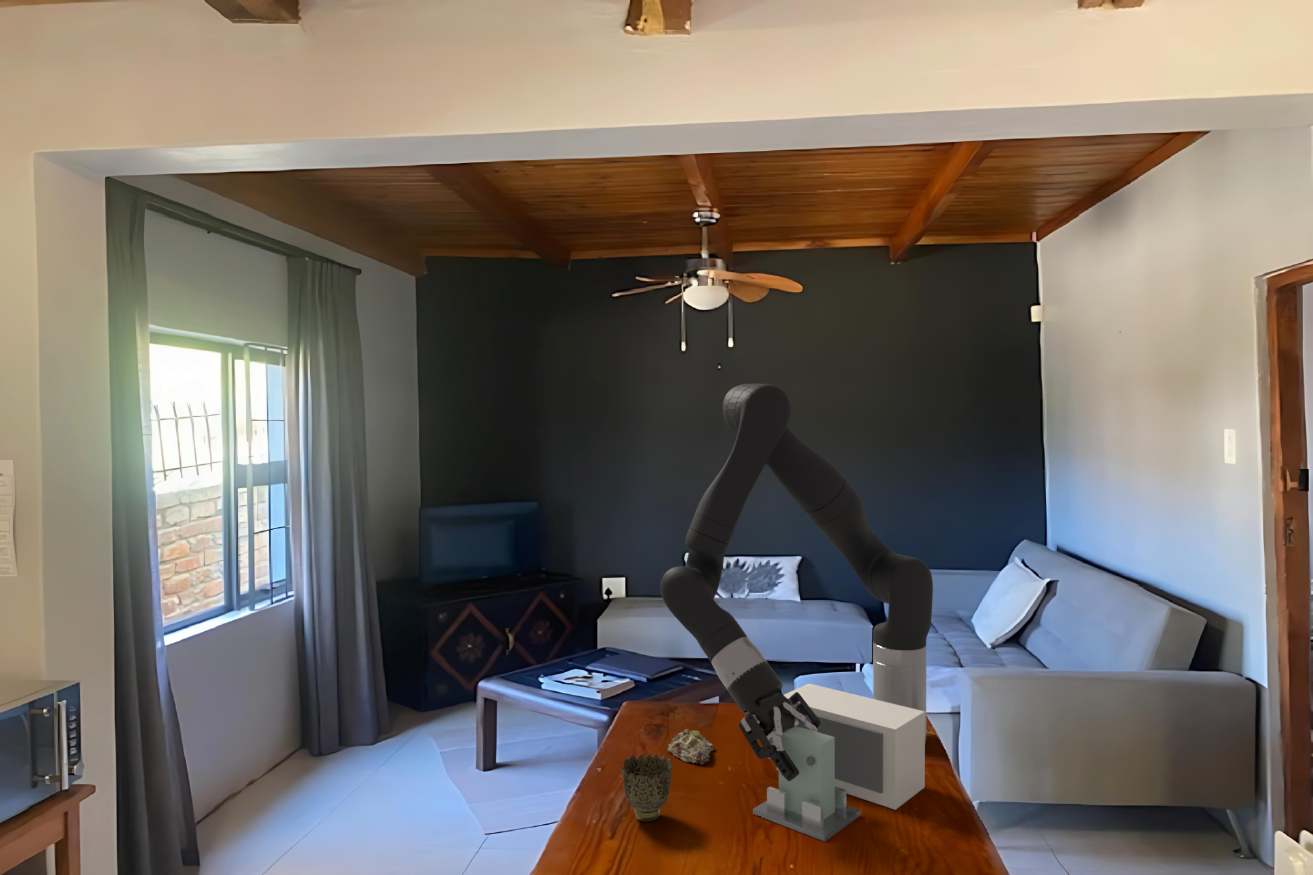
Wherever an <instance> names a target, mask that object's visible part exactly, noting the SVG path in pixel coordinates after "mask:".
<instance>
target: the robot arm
mask: <svg viewBox="0 0 1313 875" xmlns="http://www.w3.org/2000/svg"><path fill="white" fill-rule="evenodd" d="M791 415H792V403H791V401H790V397H789V396H788V395H787V393H786V391H784V390H783V389H782V388H781V387H779V386H776V385H774V384H770V383H742V384H740V385H739V384H738V385H737V386H734V387H733V388H731V389H730V390H729V391H727V393H726V394H725V396H724V399H723V401H722V416H723V418H724V421H725V423H726V425H727V426H728V429H730V431H731V432H732V433H733V434H734V435H736V438H735V442H734V444H733V448H732V449H731V452H730V454H729V456H728V458H727V460H726V462H725V464H724V465H723V467H722V468H721V469H720V471H719V473H717V475H716V477H715V478H714V479H713V481H712V483H711V484H710V485H709V486H708V488H707V489H706V491H705V492H704V494H703V496H702V498H701V499H700V501H699V503H698V505H697V507H696V510H695V513H694V516H693V518H692V520H691V523H690V526H689V528H688V530H687V534H686V536H685V545H686V548H687V550H688V555H687V559H686V563H685V566H683V565H681V566H680V565H678V566H675V567H672V568H669V570H667V571H666V572H665V573H664V574H663V575H662V578H661V580H660V595H661V598H662V601H664V604H665V606H666V607H667V608H668V609H667V610H669V612H670V613H672V615H673V616H674V617H675V618H676V619H677V621H678V622H679V623H680V624H681V625H682V626H683V627H684V628H685V630H687V632H689V633H690V634H691V636H693V637H694V639H695V640H696V642H697V644H698V645H699V647H700V648H701V650H702V651H703V653H704V654H705V655H706V657H707V659H708V660H709V661H710V664H711V665H712V667H713V669H714V671H715V672H716V675H717V677H718V678H719V680H720V681H721V683H722V684H723V686H724V688H725V689H726V690H727V692H728V693H729V695H730V696H731V697H732V700H733V701H734V702H735V704H736V705H737V707H738V708H739V710H740V711H741V713H742V714H745V716H744V717H743V718H742V719H741V720H740V721H738V727H739V729H740V731H741V732H742V734H743V736H744V737H745V739H746V740H747V742H748V744H749V746H750V747H751V749H752V750H753V752H754V754H755V756H756V757H757V759H759V760H762V759H764V758H767V759H768V760H771V761H772V762H773V763H774V764H775V766H776V769H777V768H778V769H779V771H780V772H781V774H782V775H783V776H784V777H785V778H786V780H787V781H791V780H793V779H794V778H795V777H796V776H798V775H799V770H798V769H797V767H796V766H795V764H794V763H793V762H792V760H791V759H790V757H789V756H788V754H787V753H786V751H785V750H784V751H782V750H783V748H782V741H781V737H782V734H783V733H782V732H784V731H785V730H787V729H789V728H792V727H794V726H797V727H801V728H802V727H804V729H808V730H811V731H815V732H817V729H818V727H819V726H820V725H821V722H820V720H819V719H818V717H817V716H816V715H815V713H814V712H813V711H812V710H811V708H810V707H809V706H808V704H807V703H806V702H805V700H804V699H803V698H802V696H801V695H800V694H799V693H798V692H795V693H794V694H793V695H792V696H791V697H790V698H788V699H787V698H786V697H785V696H784V694H783V692H782V689H783V683H782V681H781V679H780V678H779V677H778V675H777V674H776V672H775V671H774V670H773V668H772V667H771V665H770V664H769V662H768V661H767V660H766V658H765V657H764V656H763V654H762V653H761V651H760V649H759V648H758V647H757V646H756V645H755V643H753V641H751V639H750V638H749V637H748V635H747V634H746V633H745V631H744V630H743V628H742V627H741V626H740V624H739V622H738V621H737V620H736V618H735V617H734V616H733V614H731V613H730V612H729V611H727V610H726V609H724V608H722V607H721V606H720V605H719V604H718V603H717V602H716V601H715V597H716V595H717V594H718V591H719V586H720V583H721V577H722V573H723V569H724V561H725V560H724V558H725V555H726V552H727V549H728V547H729V544H730V543H731V540H732V537H733V535H734V532H735V529H736V527H737V524H738V522H739V520H740V517H741V514H742V512H743V509H744V507H745V505H746V503H747V501H748V498H749V496H750V494H751V492H752V490H753V488H754V487H755V485H756V482H757V480H758V479H759V478H760V475H761V473H762V471H763V470H764V467H765V466H767V467H768V468H769V469H770V471H771V472H772V473H773V474H774V476H775V477H776V479H777V481H779V482H780V484H781V486H783V487H784V489H785V490H786V491H787V493H788V494H789V495H791V497H792V499H793V500H795V502H796V503H797V505H798V506H799V507H800V509H801V510H802V512H804V513H805V514H806V516H807V517H808V518H809V520H811V521H812V523H813V524H814V525H815V526H816V527H817V528H818V529H819V530H820V531H821V533H823V534H824V536H825V537H826V538H827V539H828V540H829V542H830V543H831V544H832V545H833V546H834V547H835V548H836V549H837V551H839V553H840V554H842V557H844V558H845V559H846V561H847V562H848V564H849V565H850V567H851V569H852V570H853V571H854V573H855V575H857V577H858V579H859V580H860V582H861V583H862V585H863V587H864V588H865V589H866V590H867V592H868V593H869V594H870V595H871V596H872V597H873V598H874V599H876V600H877V601H879V602H882V603H885V604H888V613H887V614H888V615H887V620H886V621H884V622H880V623H877V624H876V625H875V626H874V627H873V631H872V632H873V633H872V637H873V638H872V641H873V642H872V648H873V652H872V655H873V656H872V659H873V660H872V661H873V662H872V663H873V664H872V668H873V672H872V678H873V679H872V680H873V681H872V683H873V684H872V687H873V688H872V689H873V690H872V694H873V695H872V699H875V700H879V701H884V702H888V703H892V704H896V705H900V706H904V707H908V708H912V709H916V710H921V711H925V743H926V742H927V639H928V635H929V633H930V630H931V626H932V617H933V616H932V615H933V612H932V611H933V599H934V598H933V596H934V593H933V592H934V585H933V577H932V573H931V569H930V567H929V566H928V565H927V563H926V562H925V561H923V560H922V559H920V558H917V557H914V556H909V555H905V554H900V553H896V552H895V551H893V550H891V549H890V548H888V546H887V545H885V543H884V542H883V541H882V540H881V539H880V538H879V537H878V536H877V535H876V534H875V533H874V531H873V530H872V529H871V526H870V524H869V522H868V518H867V514H866V508H865V506H864V502H863V501H862V498H861V496H860V495H859V493H858V492H857V490H856V488H854V487H853V485H852V484H851V483H850V482H849V481H848V479H847V478H846V477H845V475H843V473H841V471H840V470H839V469H838V468H837V467H836V466H835V465H833V463H831V462H830V461H829V460H828V459H826V458H825V457H824V456H823V455H821V454H820V453H819V452H817V451H816V450H814V449H813V448H812V447H810V446H809V445H807V443H805V442H804V441H803V440H801V439H800V438H799V437H798V436H797V435H796V434H795V433H794V432H793V431H792V429H790V427H789V423H790V420H791V417H792V416H791ZM805 715H807V716H808V717H809V718H810V720H811V721H812V722H808V721H807V720H806V717H805ZM795 719H796V720H797V721H795ZM758 740H759V742H760V743H761V745H762V746H761V745H760V744H759V742H758ZM779 771H778V772H779Z"/></svg>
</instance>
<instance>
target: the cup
mask: <svg viewBox="0 0 1313 875" xmlns="http://www.w3.org/2000/svg"><path fill="white" fill-rule="evenodd" d="M620 767H621V773H622V781H623V790H624V794H625V798H626V801H627V803H628V804H629V806H630V807H631V808H633V809H634V815H635V818H636V819H637V820H639V821H641V822H653V821H655V820H658V818H659V816H660V813H661V811H660V809H661V808H662V807H664V806H665V805H666V803H667V801H668V798H669V794H670V790H671V782H672V781H671V780H672V772H673V770H672V769H673V763H672V761H671V758H668V759H666V757H665V755H663V756H662V757H661V759H660V758H659V756H658V755H657V754H654V755H652V754H651V753H649V754H648V755H647V756H646V757H645V758H644V754H642V753H641V754H640V755H639V757H638V758H637V757H636V756H635V755H632V754H631V755H630V756H629V757H628V759H627V758H624V759H623V765H620Z"/></svg>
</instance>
